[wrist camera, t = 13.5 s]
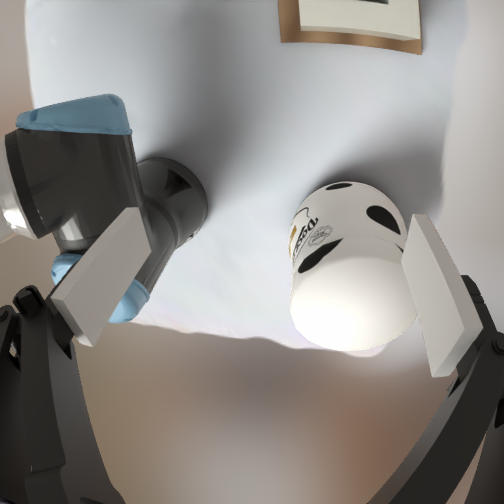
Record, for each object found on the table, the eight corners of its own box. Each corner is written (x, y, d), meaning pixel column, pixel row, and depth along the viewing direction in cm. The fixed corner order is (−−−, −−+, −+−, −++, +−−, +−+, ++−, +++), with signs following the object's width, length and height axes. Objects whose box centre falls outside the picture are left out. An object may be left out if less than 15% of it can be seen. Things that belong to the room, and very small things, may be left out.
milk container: (269, 202, 45) (250, 284, 31) (375, 154, 38) (415, 221, 23) (318, 280, 53) (317, 367, 39) (409, 246, 45) (439, 331, 31)
